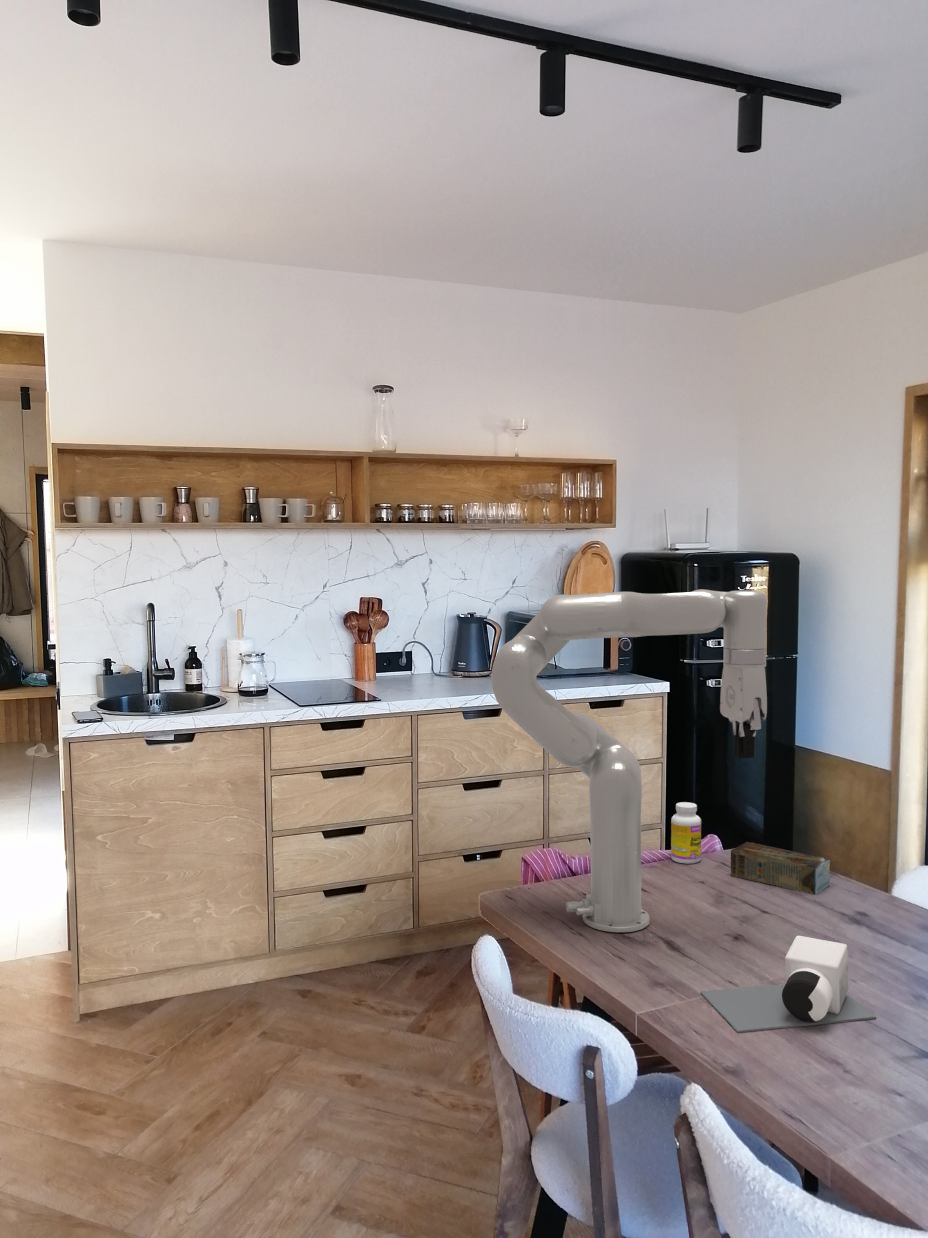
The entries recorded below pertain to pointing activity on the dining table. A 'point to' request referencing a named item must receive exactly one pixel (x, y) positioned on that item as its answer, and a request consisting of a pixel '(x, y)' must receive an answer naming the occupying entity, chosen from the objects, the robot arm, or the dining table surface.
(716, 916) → the dining table surface
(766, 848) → the beverage carton
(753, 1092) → the dining table surface
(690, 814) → the supplement bottle
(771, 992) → the rubber mat
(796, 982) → the container
